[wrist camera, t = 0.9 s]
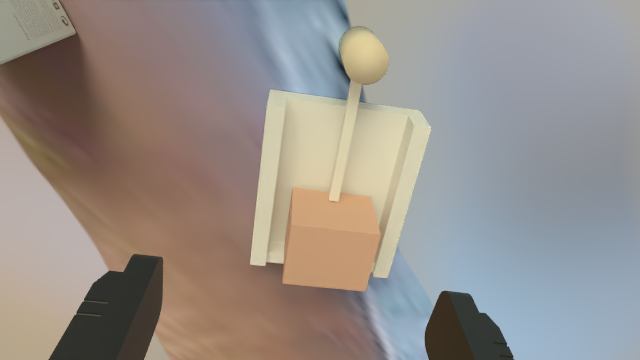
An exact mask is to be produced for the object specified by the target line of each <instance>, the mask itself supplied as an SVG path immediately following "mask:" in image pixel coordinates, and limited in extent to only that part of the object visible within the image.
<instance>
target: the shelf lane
mask: <svg viewBox="0 0 640 360" xmlns="http://www.w3.org/2000/svg"><path fill="white" fill-rule="evenodd" d="M346 102H347V100H343V99H336V98H329V97H321V96H314V95H307V94H300V93H293V92H286V91H279V90H272V89H270V93H269V98H268V103H267V109H266V119H265V128H264V137H263V147H262V156H261V165H260V175H259V184H258V193H257V203H256V212H255V222H254V231H253V240H252V250H251V259H250V264H251V265H261V266H265V265H266V262H272V263H282V264H283V263H284V245H285V236H286V229H287V222H288V216H289V209H290V202H291V195H292V189H293V187H294V188H302V189H311V190H319V191H327V192H329V191H330V185H331V180H332V175H333V170H334V165H335V159H336V154H337V149H338V144H339V139H340V134H341V128H342V123H343V118H344V113H345V108H346ZM431 129H432V128H431V127H430V125H429V124H428V122H427V121H426V119H425V118H424V116H423V115H422V113H421V112H420V111H419V110H413V109H406V108H398V107H392V106H385V105H378V104H371V103H364V102H359V104H358V109H357V113H356V118H355V123H354V128H353V133H352V138H351V143H350V147H349V152H348V157H347V162H346V167H345V172H344V176H343V181H342V186H341V191H340V193H344V194H352V195H361V196H369V197H371V200H372V203H373V207H374V211H375V215H376V218H377V222H378V226H379V230H380V233H381V236H380V240H379V244H378V247H377V251H376V255H375V259H374V262H373V266H372V270H371V273H372V274H373V277H380V278H388V275H389V272H390V268H391V265H392V262H393V258H394V255H395V251H396V248H397V245H398V241H399V238H400V234H401V231H402V228H403V224H404V220H405V217H406V214H407V211H408V207H409V204H410V200H411V196H412V193H413V190H414V187H415V183H416V180H417V176H418V173H419V169H420V166H421V163H422V159H423V156H424V153H425V149H426V146H427V142H428V139H429V136H430V132H431Z"/></svg>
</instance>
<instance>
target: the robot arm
mask: <svg viewBox="0 0 640 360" xmlns="http://www.w3.org/2000/svg"><path fill="white" fill-rule="evenodd" d="M162 293H163V258H162V257H157V256H148V255H139V254H134V255H132V257H131V259H130V261H129V263H128V264H127V266H126V268H125V270H124V272H116V271H108V272H107V273H106V274H105V275H103V276H102V277H101V278H100V279H98V280H97V281H96V282H94V283H93V285H92V287H91V288H90V290H89V292H88V293H87V295H86V297H85V299H84V302H82V304H81V305H80V307H79V309H78V311H77V313H76V315H75V316H74V317H73V319H72V321H71V322H70V324H69V326H68V328H67V329H66V331H65V333H64V334H63V336H62V338H61V340H60V341H59V343H58V345H57V346H56V348H55V350H54V351H53V353H52V355H51V356H50V358H49V360H144V358H145V355H146V352H147V350H148V347H149V344H150V341H151V339H152V336H153V333H154V331H155V328H156V325H157V322H158V319H159V316H160V311H161V306H162ZM425 347H426V351H427V355H428V358H429V360H513V355H512V353H511V351H510V349H509V347H507V343H506V341H505V339H504V337H503V335H502V333H501V331H500V329H499V327H498V326H497V325H496V324H495V323H494V322H493V321H492V320H491V319H490V317H489V316H488V315H487V314H486V313H479V311H478V309H477V307H476V305H475V303H474V300H473V298H472V297H471V295H470V294H468V293H460V292H451V291H442V292H441V294H440V295H439V298H438V300H437V302H436V305H435V307H434V310H433V312H432V315H431V317H430V319H429V322H428V324H427V327H426V331H425Z"/></svg>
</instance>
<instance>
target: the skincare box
mask: <svg viewBox="0 0 640 360" xmlns="http://www.w3.org/2000/svg"><path fill="white" fill-rule="evenodd" d="M74 34H76V31H75V29H74V27H73V25H72V24H71V22H70V20H69V18H68V16H67V14H66V13H65V11H64V9H63V8H62V6H61V4H60V2H59V0H0V65H1V64H3V63H6V62H8V61H10V60H13V59H15V58H18V57H20V56H23V55H25V54H27V53H30V52H32V51H35V50H37V49H40V48H42V47H45V46H47V45H50V44H52V43H55V42H57V41H60V40H62V39H65V38H67V37H69V36H72V35H74Z"/></svg>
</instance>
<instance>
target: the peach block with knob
mask: <svg viewBox="0 0 640 360" xmlns="http://www.w3.org/2000/svg"><path fill="white" fill-rule="evenodd" d="M339 52H340V55H341V58H342V61H343V65H344V68H345V71H346V73H347V75H348V76H349V78H350V79H351V82H350V87H349V92H348V97H347V102H346V108H345V113H344V118H343V123H342V128H341V134H340V139H339V144H338V149H337V154H336V159H335V165H334V170H333V175H332V180H331V185H330V191H329V192H327V191H319V190H311V189H302V188H294V187H293V189H292V195H291V202H290V209H289V216H288V222H287V229H286V236H285V245H284V263H283V281H282V284H292V285H303V286H313V287H324V288H334V289H344V290H355V291H365V292H366V288H367V285H368V281H369V277H370V273H371V270H372V266H373V262H374V259H375V255H376V251H377V247H378V244H379V240H380V236H381V233H380V230H379V226H378V222H377V218H376V215H375V211H374V207H373V203H372V200H371V197H369V196H361V195H352V194H344V193H340V191H341V186H342V181H343V176H344V172H345V167H346V162H347V157H348V152H349V147H350V143H351V138H352V133H353V128H354V123H355V118H356V113H357V109H358V104H359V99H360V94H361V89H362V85H369V84H373V83H375V82H377V81H379V80H380V79H381V78H382V77H383V76H384V75H385V73H386V71H387V69H388V66H389V56H388V53H387V51H386V49H385V48H384V46H383V45H382V44H381V42H380V41H379V40H378V38H377V37H376V36H375V34H374V33H373V32H372V31H371V30H370V29H368V28H366V27H362V26H357V27H352V28H350V29H348V30H347V31H346V32H345V33H344V34H343V35H342V37H341V39H340V42H339Z"/></svg>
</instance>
